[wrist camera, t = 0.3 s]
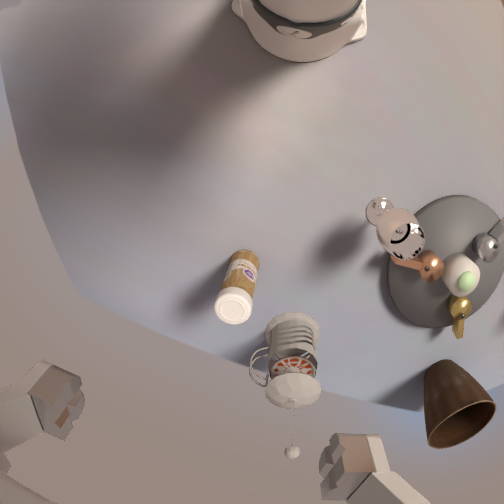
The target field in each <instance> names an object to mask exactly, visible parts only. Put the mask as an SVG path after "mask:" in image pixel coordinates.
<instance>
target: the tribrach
mask: <svg viewBox="0 0 504 504" xmlns="http://www.w3.org/2000/svg"><path fill="white" fill-rule="evenodd" d="M414 216H415V217H416V218H417V219H418V221H419V223H420V224H421V226H422V229H423V231H424V234H425V243H424V247H423V249H422V250H421V252H422V251H424V250H432V251H433V252H434V253H435V254H436V255H437V256H438V257H439V258H440V259H441V260H442V261H443V263H444V271H443V273H442V275H441V276H440V278H439V279H437V280H436V281H433V282H427V281H425V280H424V279H423V278H422V276H421V275H420V274H419V272H418V271H417V270H416V269H413V268H409V267H405V266H401V265H397V264H395V263H394V261H393V260H392V258H391V257H389V262H388V271H387V278H388V286H389V291H390V294H391V296H392V299H393V300H394V302H395V304H396V306H397V308H398V310H399V311H400V312H401V314H402V315H403V316H404V317H405V318H406V319H408V320H409V321H411V322H412V323H414V324H416V325H419V326H422V327H427V328H441V327H447V326H450V325H453V316H452V315H451V313H450V312H449V310H448V309H447V306H446V303H447V300H448V298H449V297H450V296H451V295H452V294H453V295H455V296H457V297H463V296H466V297H467V298H468V300H469V301H470V302H471V304H472V310H471V312H470V314H469V315H468V316H467V317H466V318H468V317H469V316H471V315H472V314H473V313H475V312H476V311H477V310H478V309H479V308H481V306H482V305H483V304H484V303H485V302H486V301H487V300H488V299H489V297H490V296H491V295H492V293H493V292H494V290H495V289H496V287H497V285H498V283H499V281H500V279H501V276H502V274H503V271H504V240H503V241H502V242H501V243H500V244H499V245H500V250H499V254H498V256H497V257H496V259H495V260H493V261H492V262H489V263H487V262H484V261H483V260H482V259H481V258H480V257H479V256H478V255H477V254H475V252H474V251H473V242H474V240H475V238H476V237H477V235H479V234H480V233H483V232H485V233H487V234H489V233H490V232H491V231H492V230H493V229H494V228H495V226H496V225H497V224H498V223H499V222H500V221H501V220H500V219H499V217H498V215H497V214H496V213H495V212H494V211H493V210H492V209H491V208H490V207H489V206H487V205H486V204H484V203H482V202H481V201H479V200H477V199H475V198H472V197H469V196H464V195H451V196H446V197H442V198H439V199H437V200H435V201H433V202H431V203H429V204H427V205H426V206H424V207H423V208H421V209H420V210H419V211H418V212H417V213H416V214H414ZM489 235H490V234H489ZM390 256H391V254H390ZM466 318H465V319H466Z"/></svg>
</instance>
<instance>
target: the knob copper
mask: <svg viewBox="0 0 504 504" xmlns="http://www.w3.org/2000/svg"><path fill="white" fill-rule="evenodd" d="M390 257H391V258H392V260H393V261H394V263H395V264H397V265H401V266H405V267H409V268H413V269H416V270H417V271H418V272H419V274H420V275H421V276H422V278H423V279H424V280H425V281H427V282H433V281H436V280H437V279H439V278H440V276H441V275H442V273H443V271H444V263H443V261H442V260H441V259H440V258H439V257H438V256H437V255H436V254H435V253H434V252H433V251H432V250H424V251H422V252H420V253H419V254H418V255H417V256H416V257H414V258H412V259H409V260H401V259H398V258H396V257H394V256H392V255H391V256H390Z"/></svg>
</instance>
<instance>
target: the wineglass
mask: <svg viewBox="0 0 504 504" xmlns="http://www.w3.org/2000/svg"><path fill="white" fill-rule="evenodd" d="M366 215H367V218H368V220H369V221H370V222H371V223H372V224H373V225H376V226H377V227H376V234H377V238H378V241H379V243H380V245H381V246H382V247H383V248H384V249H385V250H386V251H387V252H388V253H389V254H391V255H392V256H394V257H396V258H398V259H401V260H409V259H412V258H414V257H416V256H417V255H418V254H419V253H420V252H421V250H422V249H423V247H424V243H425V234H424V231H423V229H422V226H421V224H420V223H419V221H418V219H417V218H416V217H415V216H414V215H413V214H412V213H411V212H409V211H407V210H405V209H402V208H394V207H393V204H392V203H391V202H390V201H389V200H388V199H387V198H384V197H378V198H375V199H373V200H372V201H371V202H370V203H369V205H368V206H367V210H366Z"/></svg>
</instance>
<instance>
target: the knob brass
mask: <svg viewBox="0 0 504 504" xmlns="http://www.w3.org/2000/svg"><path fill="white" fill-rule="evenodd" d="M446 306H447V309H448V310H449V312H450V313H451V315H452V316H453V325H452V331H453V333H454V335H455V336H456V338H457V339H459V338H462V337H463V330H464V319H465V318H466V317H467V316H468V315H469V314H470V312H471V310H472V304H471V302H470V301H469V300H468V298H467V297H466V296H463V297H457V296H455V295H453V294H452V295H451V296H450V297H449V298H448V300H447V303H446Z"/></svg>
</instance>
